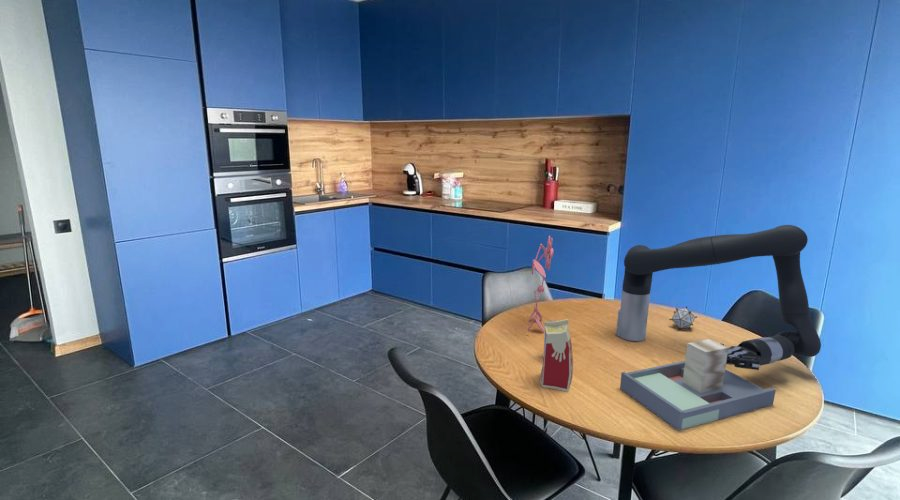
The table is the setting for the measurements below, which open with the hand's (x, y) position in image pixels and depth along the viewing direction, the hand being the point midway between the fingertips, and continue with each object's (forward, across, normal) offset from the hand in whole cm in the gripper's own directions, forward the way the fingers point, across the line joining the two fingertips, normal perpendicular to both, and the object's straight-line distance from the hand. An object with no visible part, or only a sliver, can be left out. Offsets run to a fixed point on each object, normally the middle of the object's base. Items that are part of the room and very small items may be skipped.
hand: (715, 361), depth 128 cm
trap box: (+6, 0, +9) cm, 11 cm away
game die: (-29, -38, +10) cm, 48 cm away
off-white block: (+4, 0, +6) cm, 8 cm away
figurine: (+19, -57, +10) cm, 60 cm away
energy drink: (+31, -34, +10) cm, 47 cm away
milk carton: (+38, -20, +10) cm, 44 cm away
